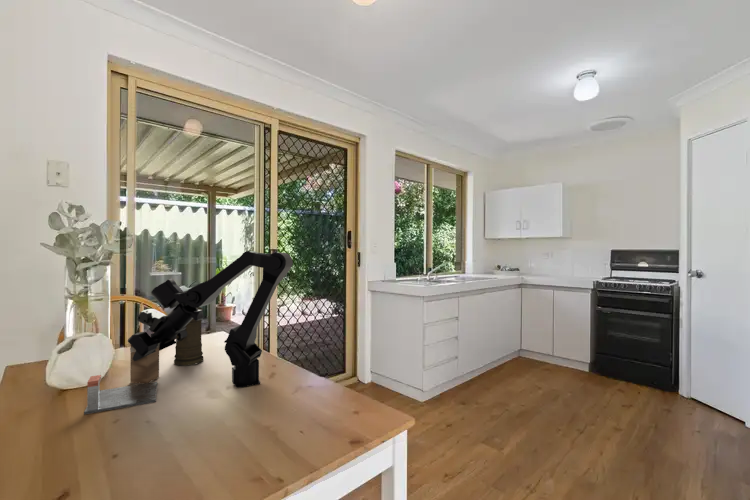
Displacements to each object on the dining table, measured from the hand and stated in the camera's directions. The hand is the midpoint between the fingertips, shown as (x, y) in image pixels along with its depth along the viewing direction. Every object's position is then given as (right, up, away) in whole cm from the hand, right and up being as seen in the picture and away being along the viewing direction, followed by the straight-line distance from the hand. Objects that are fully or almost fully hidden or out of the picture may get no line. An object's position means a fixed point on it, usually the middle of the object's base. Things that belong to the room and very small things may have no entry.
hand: (140, 357), depth 104 cm
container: (+5, -7, +17) cm, 19 cm away
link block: (+1, -7, 0) cm, 7 cm away
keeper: (+4, -7, -12) cm, 15 cm away
